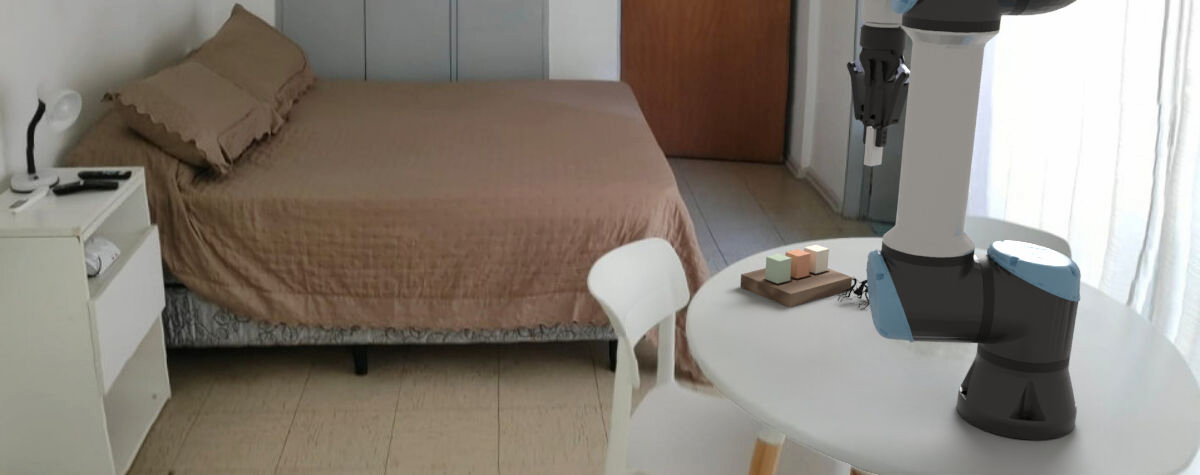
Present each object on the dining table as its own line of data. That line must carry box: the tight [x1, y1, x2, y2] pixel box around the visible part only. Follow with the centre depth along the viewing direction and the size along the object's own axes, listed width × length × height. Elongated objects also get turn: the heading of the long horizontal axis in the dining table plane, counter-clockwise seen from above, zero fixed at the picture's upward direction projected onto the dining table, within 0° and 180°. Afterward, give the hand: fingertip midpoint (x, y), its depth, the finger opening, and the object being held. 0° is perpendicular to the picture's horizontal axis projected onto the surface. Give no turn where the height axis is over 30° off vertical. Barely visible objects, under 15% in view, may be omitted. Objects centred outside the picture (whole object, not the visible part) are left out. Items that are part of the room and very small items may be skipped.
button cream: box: [803, 244, 830, 274], centre depth 208 cm, size 3×3×4 cm
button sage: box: [765, 253, 792, 284], centre depth 203 cm, size 3×3×4 cm
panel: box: [740, 267, 853, 308], centre depth 206 cm, size 12×15×2 cm
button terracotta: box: [784, 248, 811, 279], centre depth 205 cm, size 3×3×4 cm
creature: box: [836, 268, 870, 311], centre depth 200 cm, size 8×5×8 cm
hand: (872, 164), depth 201 cm, fingers closed
